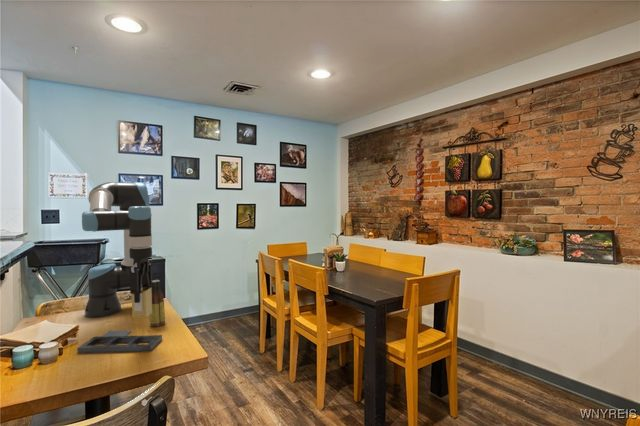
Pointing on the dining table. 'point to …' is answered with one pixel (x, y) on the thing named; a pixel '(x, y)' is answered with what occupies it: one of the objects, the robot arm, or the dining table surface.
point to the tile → (117, 333)
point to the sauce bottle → (157, 305)
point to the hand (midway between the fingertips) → (142, 307)
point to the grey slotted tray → (112, 347)
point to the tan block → (146, 303)
